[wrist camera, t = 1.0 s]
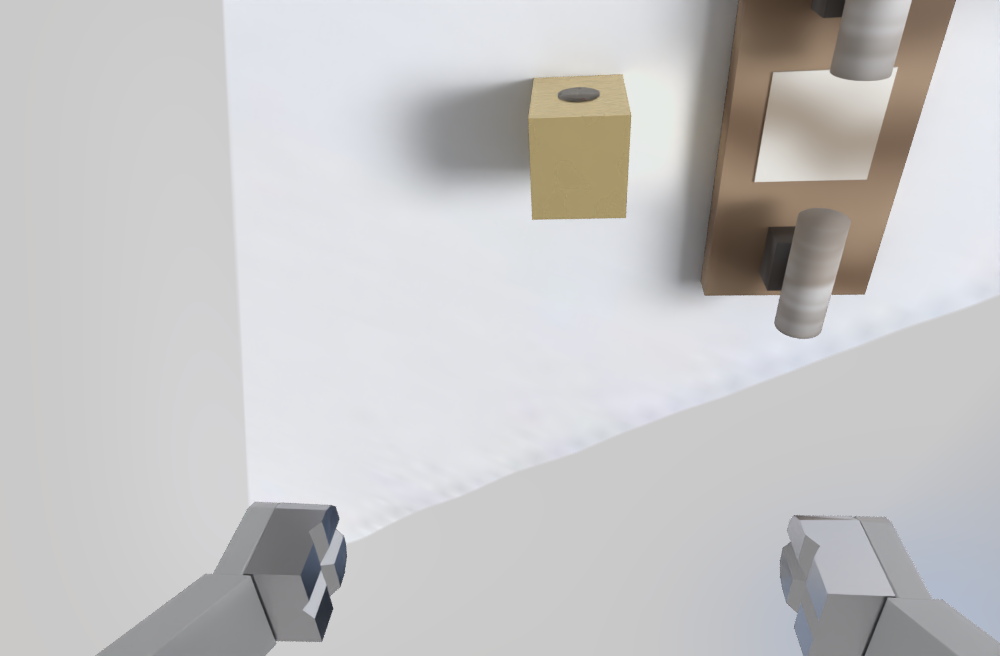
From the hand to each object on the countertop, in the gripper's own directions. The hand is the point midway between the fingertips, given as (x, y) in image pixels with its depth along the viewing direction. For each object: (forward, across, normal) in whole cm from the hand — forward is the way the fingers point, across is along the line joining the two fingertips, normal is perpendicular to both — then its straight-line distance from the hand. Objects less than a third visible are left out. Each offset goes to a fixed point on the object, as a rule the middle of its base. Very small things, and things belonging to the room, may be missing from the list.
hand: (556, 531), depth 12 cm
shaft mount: (+28, -13, 0) cm, 31 cm away
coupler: (+28, -1, 0) cm, 28 cm away
